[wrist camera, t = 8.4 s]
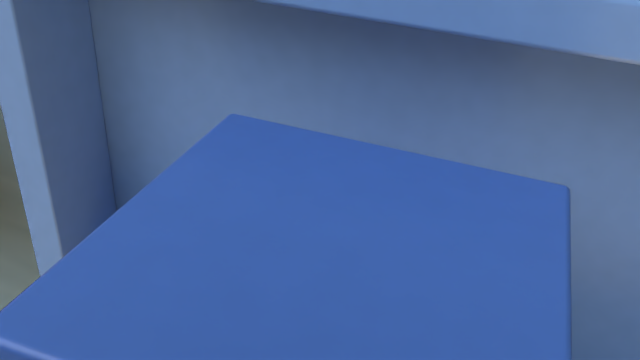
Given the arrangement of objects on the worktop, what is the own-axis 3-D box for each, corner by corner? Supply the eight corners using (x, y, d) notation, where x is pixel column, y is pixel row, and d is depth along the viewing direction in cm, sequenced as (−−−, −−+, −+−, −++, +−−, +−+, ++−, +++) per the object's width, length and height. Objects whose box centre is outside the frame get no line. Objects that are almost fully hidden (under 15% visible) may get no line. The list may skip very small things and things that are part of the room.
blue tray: (738, 457, 13) (771, 579, 11) (115, 267, 17) (51, 330, 15) (1044, 13, 8) (1213, 80, 6) (61, -111, 12) (-48, -97, 10)
